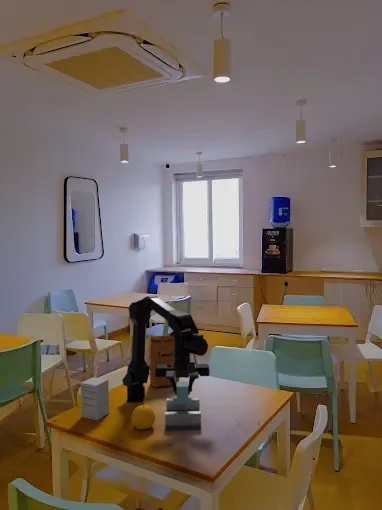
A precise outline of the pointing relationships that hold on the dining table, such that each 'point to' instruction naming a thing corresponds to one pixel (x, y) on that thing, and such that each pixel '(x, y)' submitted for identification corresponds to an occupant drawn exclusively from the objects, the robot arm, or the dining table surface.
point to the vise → (183, 419)
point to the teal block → (182, 392)
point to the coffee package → (161, 358)
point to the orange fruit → (143, 417)
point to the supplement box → (94, 398)
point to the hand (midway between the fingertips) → (182, 394)
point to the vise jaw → (172, 404)
